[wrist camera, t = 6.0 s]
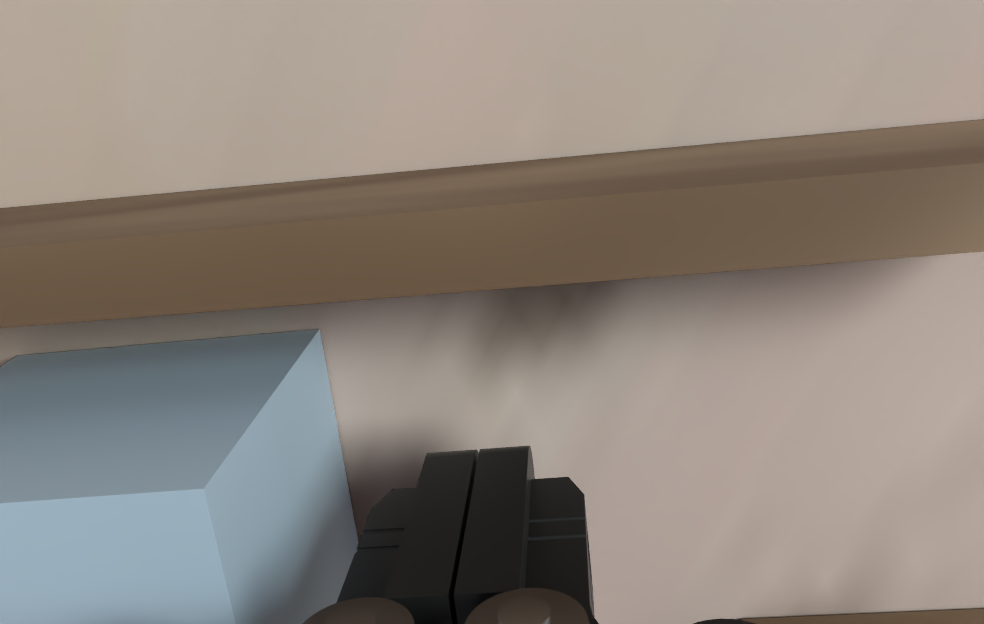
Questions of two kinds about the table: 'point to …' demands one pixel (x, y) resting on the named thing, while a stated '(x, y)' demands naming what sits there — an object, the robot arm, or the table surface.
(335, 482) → the block
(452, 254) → the trap box
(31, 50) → the table surface
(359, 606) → the robot arm
